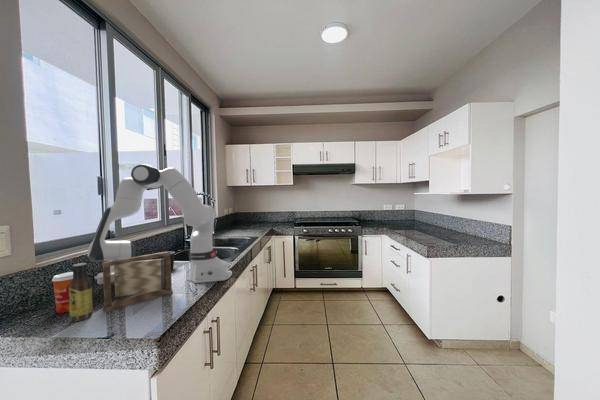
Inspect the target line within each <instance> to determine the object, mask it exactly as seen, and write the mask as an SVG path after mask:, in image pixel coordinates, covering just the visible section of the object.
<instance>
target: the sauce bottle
mask: <svg viewBox="0 0 600 400" xmlns="http://www.w3.org/2000/svg"><path fill="white" fill-rule="evenodd" d="M87 269H88V264H87V262H80V263H75V264H73V265H72V266H71V270H72V272H73V279H72V281H71V282H70V284H69V316H70V317H69V319H70V321H72V322H81V321H84V320H88V319H89V318H91V317H92V315H93V287H92V279H90V277H89V276H88V273H87Z"/></svg>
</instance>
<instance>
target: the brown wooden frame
mask: <svg viewBox="0 0 600 400" xmlns="http://www.w3.org/2000/svg"><path fill="white" fill-rule="evenodd" d="M170 252H171V251H168V250H166V251H161V252H156V253H150V254H144V255H138V256H135V257H131V258H125V259H119V260H113V261H110V260H109V261H102V272H103V284H102V286H103V287H102V288H103V289H102V290H103V304H102V305H103V309H104V311H105V312H106V313H108V312H111V311H115V310H118V309H122V308H126V307H129V306H133V305H136V304H140V303H143V302H147V301H149V300H153V299H157V298H160V297H163V296H166V295H171V294H173V293H174V291H173V289H172V270H171V263H170ZM163 256H164V269H165V290H162V291H155V292H148V293H140V294H136V295H134V296H133V295H132V296H131V297H129V296H128V297H126V298H122V299H119V300H115V301H112V284H111V283H112V282H111V273H110V266H113V265H118V264H124V263H130V262H135V261H143V260H152V258H153V259H154V258H155V259H158V257H163Z"/></svg>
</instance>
